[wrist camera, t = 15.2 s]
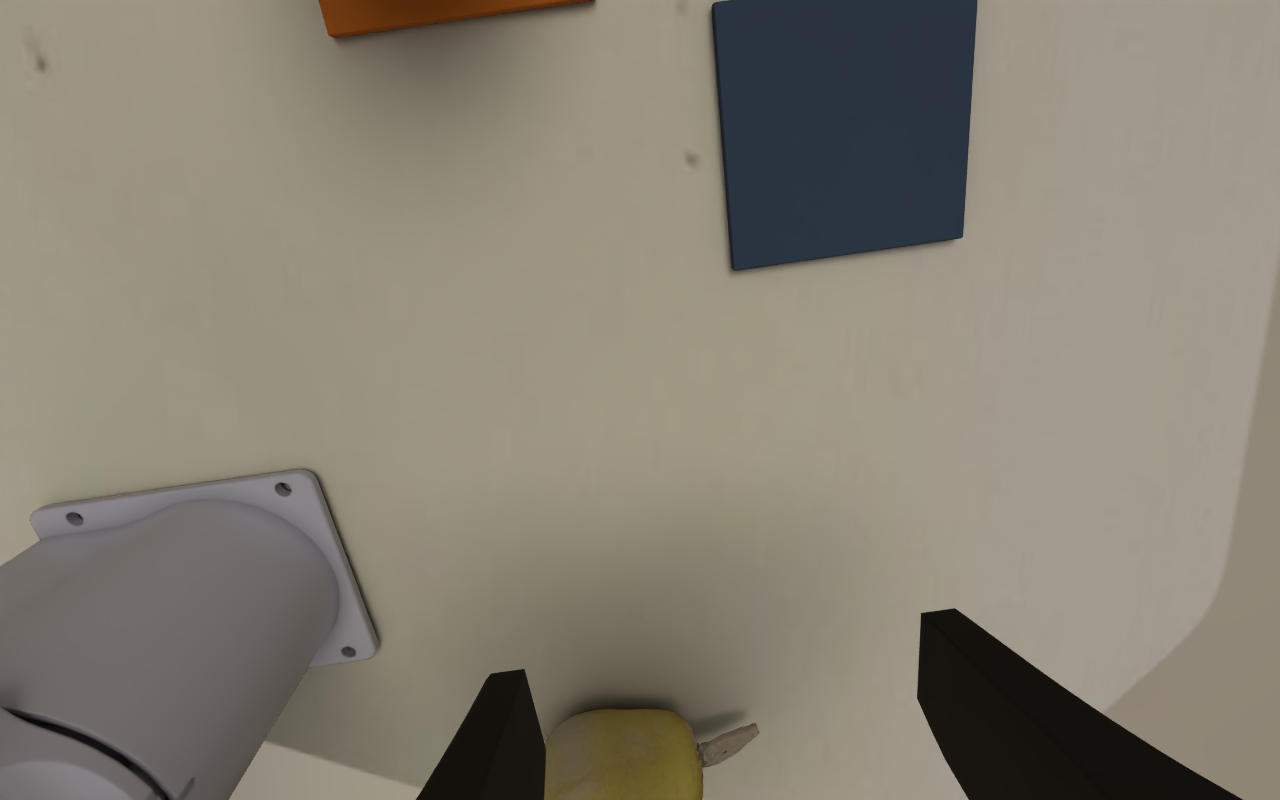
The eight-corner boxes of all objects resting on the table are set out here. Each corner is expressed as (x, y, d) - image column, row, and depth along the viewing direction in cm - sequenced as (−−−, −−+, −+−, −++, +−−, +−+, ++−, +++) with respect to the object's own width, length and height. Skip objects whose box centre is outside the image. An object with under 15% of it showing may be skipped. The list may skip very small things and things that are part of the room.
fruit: (765, 754, 26) (550, 847, 26) (717, 629, 26) (498, 721, 25) (814, 860, 21) (539, 984, 20) (754, 702, 20) (471, 823, 20)
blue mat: (731, 268, 19) (734, 270, 18) (710, 6, 16) (713, 1, 16) (956, 236, 19) (963, 238, 18) (971, -33, 16) (980, -38, 16)
